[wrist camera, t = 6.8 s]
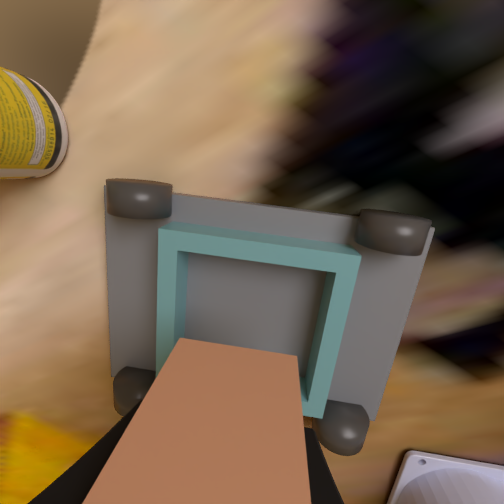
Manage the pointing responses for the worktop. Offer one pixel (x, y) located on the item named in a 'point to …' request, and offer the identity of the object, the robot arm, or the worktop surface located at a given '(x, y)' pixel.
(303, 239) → the chassis
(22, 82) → the supplement bottle
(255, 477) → the block
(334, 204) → the worktop surface
